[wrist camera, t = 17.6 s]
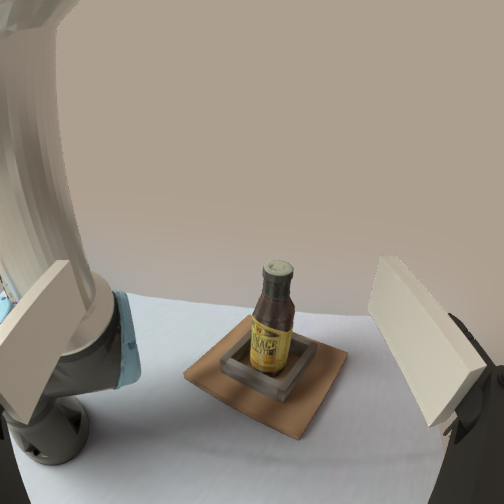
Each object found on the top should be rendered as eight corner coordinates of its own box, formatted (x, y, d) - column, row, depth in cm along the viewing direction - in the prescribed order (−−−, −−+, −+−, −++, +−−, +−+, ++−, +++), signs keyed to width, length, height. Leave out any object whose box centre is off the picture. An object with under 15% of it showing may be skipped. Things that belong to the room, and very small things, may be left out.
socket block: (184, 378, 46) (180, 359, 44) (248, 319, 61) (249, 301, 59) (298, 440, 36) (303, 424, 33) (346, 358, 51) (352, 339, 48)
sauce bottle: (242, 365, 48) (240, 264, 39) (267, 347, 52) (272, 250, 43) (270, 385, 44) (278, 284, 35) (295, 365, 48) (308, 266, 39)
